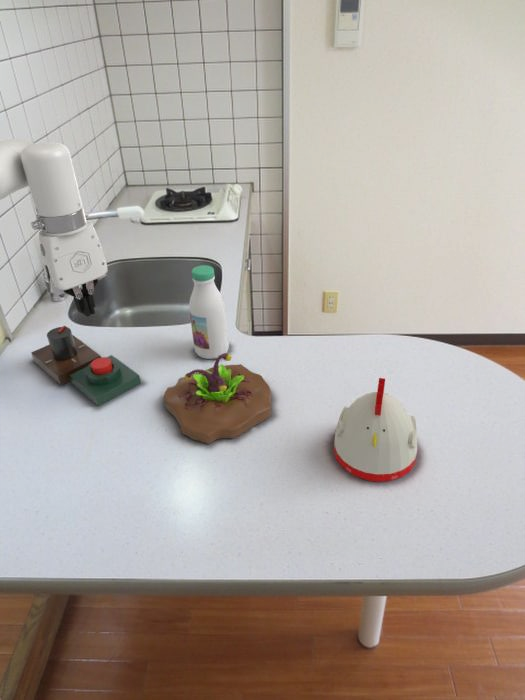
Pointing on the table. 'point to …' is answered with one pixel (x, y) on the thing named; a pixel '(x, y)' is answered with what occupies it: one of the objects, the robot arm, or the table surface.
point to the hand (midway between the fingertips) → (87, 312)
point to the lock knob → (62, 343)
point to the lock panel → (64, 361)
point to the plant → (219, 401)
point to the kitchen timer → (376, 437)
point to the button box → (105, 381)
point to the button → (101, 366)
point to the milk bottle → (207, 315)
